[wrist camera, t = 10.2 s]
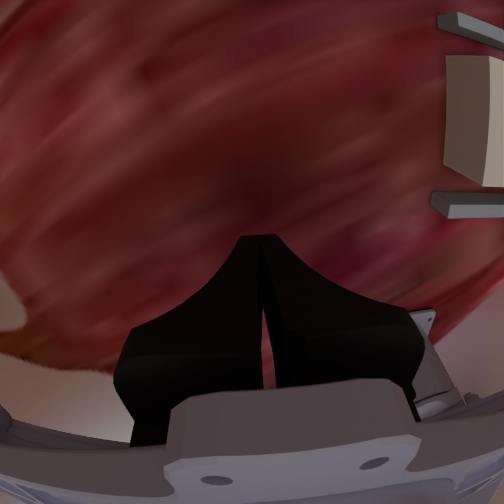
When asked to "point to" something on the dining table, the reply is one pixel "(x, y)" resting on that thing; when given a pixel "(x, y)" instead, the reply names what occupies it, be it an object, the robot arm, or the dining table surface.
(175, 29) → the dining table surface
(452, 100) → the carton
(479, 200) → the display stand
